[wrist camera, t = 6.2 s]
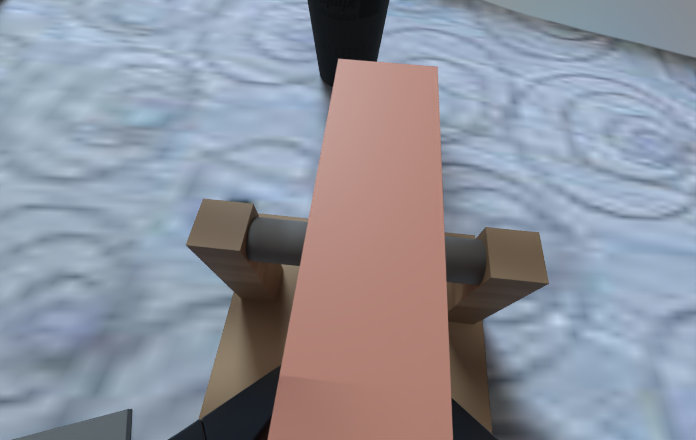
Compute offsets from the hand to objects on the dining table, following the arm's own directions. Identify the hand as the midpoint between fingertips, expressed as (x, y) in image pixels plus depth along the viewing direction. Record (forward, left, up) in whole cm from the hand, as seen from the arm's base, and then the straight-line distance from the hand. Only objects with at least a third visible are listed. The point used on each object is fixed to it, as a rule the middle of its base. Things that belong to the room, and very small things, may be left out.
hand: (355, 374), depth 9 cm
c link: (+1, -2, -7) cm, 8 cm away
